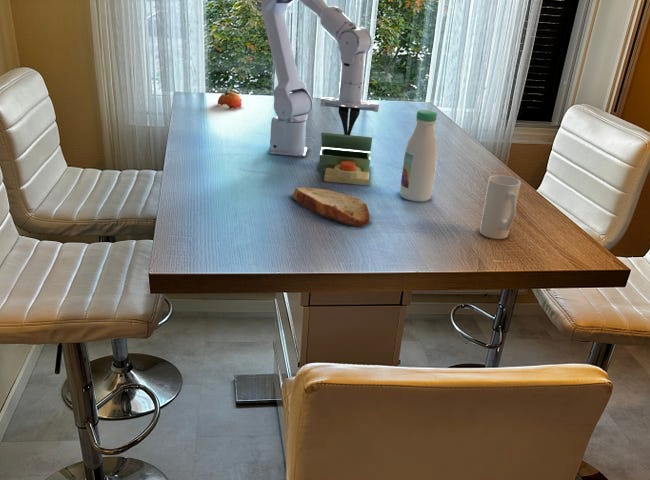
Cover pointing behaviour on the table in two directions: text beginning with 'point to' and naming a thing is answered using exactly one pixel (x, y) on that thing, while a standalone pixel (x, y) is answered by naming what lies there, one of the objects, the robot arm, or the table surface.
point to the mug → (499, 206)
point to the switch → (347, 166)
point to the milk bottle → (420, 159)
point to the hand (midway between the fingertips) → (347, 137)
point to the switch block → (346, 176)
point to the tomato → (230, 100)
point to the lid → (346, 142)
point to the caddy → (343, 158)
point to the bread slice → (333, 205)
